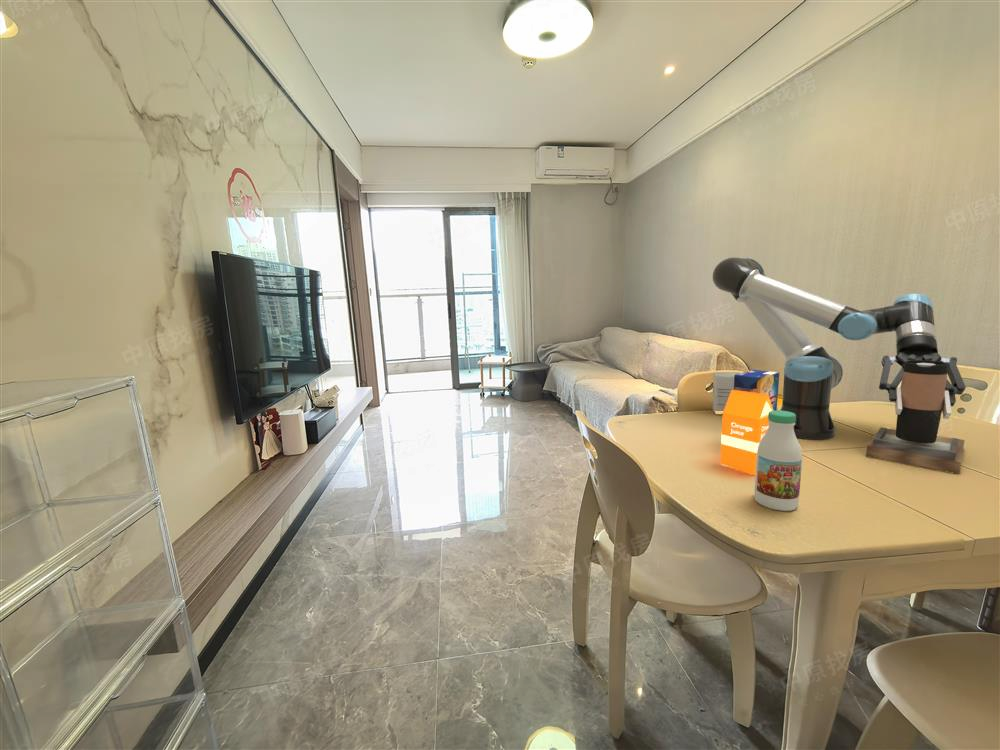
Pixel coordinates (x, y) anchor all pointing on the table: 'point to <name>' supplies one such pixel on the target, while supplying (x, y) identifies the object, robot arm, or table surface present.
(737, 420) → the orange juice
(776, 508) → the milk bottle
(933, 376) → the travel mug
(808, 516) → the table surface
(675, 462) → the table surface
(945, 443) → the dock
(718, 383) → the supplement box
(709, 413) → the table surface
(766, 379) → the beverage box
